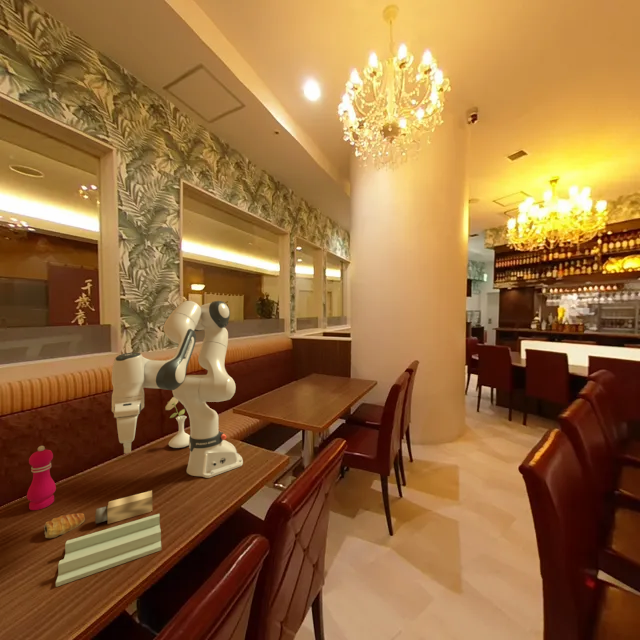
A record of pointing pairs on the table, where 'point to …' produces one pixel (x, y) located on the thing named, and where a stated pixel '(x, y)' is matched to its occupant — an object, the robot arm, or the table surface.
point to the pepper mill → (41, 480)
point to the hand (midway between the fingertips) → (128, 446)
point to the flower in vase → (181, 436)
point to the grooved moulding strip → (109, 548)
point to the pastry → (63, 524)
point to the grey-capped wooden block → (125, 508)
